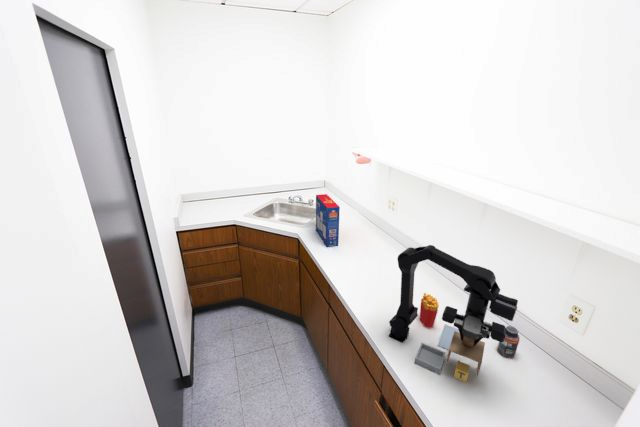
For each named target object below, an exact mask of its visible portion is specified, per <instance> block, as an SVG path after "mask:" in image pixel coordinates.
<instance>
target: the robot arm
mask: <svg viewBox="0 0 640 427" xmlns="http://www.w3.org/2000/svg"><path fill="white" fill-rule="evenodd" d="M424 261H431V262H432V263H434V264H436V265H438V266H439V267H441V268H443V269H445V270H447V271H449V272H451V273H453V274H455V275H456V276H459V277H460V278H461V279H462V280H463V281H464V282H465V283H466V285H465V286H464V287H463V291H465V292H468V293H469V296H468V300H467V304H466V307H465V308H466V309H465V313H464V315H462V314H459V313H458V309H457V308H454V307H452V306H448V305H446V306H445V307H444V310H443V313H442V315H441V316H442V317H441V320H442V321H443V322H446V323H448V324H453V327H454V328H456V329H458V330H459V333H460V337H461V340H463V336H464V335H465V336H469V337H471V338H473V339H475V342H474V346H475V345H476V344H477V343H478V342H479V341H482V339H490V338H491V339H492V340H493V341H497V342H498V343H499V342H504V339H505V334H506V327H507V326H506V325H504V324H501V323H498V322H495V321H492V323H489V322H487V321H485V318H486V313H487V310H488V309H489V310H490V313H491V314H493V315H496V316H498V317H501V318H503V319H505V320H508V321H509V322H513V321H514V318H515V315H516V312H517V309H518V303H519V302H518V301H519V300H518V299H516V298H512V297H510V296H506V295H503V294H501V292H500V291H501V288H500V285H498V283H497V280H496V275H495V273H494V272H493V271H492V270H491V269H489V268H485V267H484V266H483V267H482V266H479V265H475V264H474V265H473V264H469V263H467V262H464V261H462V260H461V259H458V258H457V257H454V256H452V255H450V254H449V253H446V252H444V251H442V250H441V249H439V248H436V246H434V245H433V244H432V245H431V244H428V245H426V246H418V247H407V248H406V249H405V250H404V251H402V252H401V253H400V254H398V255H397V263H398V264H397V265H398V269H399V270H400V272H401V276H400V277H401V279H400V280H401V282H400V300H399V301H400V302H399V306H398V308H397V311H396V314H394V316H393V317H391V319H389V321H388V323H389V326H390V332H389V334H388V337H389V338H391V339H393V340H395V341H398V342H401V343H403V344H404V343H405V342H406V340H407V339H408V338H409V334H410V327H409V326H410V325H412V323H413V322H414V321H415V320H416V319H417V317H418V316H419V314H418V311H419V310H418V309H419V308H418V307H416V306H415V304H414V288H415V286H414V285H415V284H414V283H415V272H416V270H417V268H418V265H419V263H420V262H424ZM488 306H489V307H488Z"/></svg>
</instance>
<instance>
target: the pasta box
mask: <svg viewBox="0 0 640 427" xmlns="http://www.w3.org/2000/svg"><path fill="white" fill-rule="evenodd" d="M339 230H340V206H339V205H338V204H337V203H336V201H334V200H333V199H332V198H331V197H330V196H329V194H327V193H325V194H315V232H316V233H317V235H318V234H319V235H318V236H319V237H321V238H320V239H321V240H322V242H323V244H324V245H325V248H333V247H339V240H340V239H339V238H340V237H339V233H340V231H339Z"/></svg>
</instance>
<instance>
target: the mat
mask: <svg viewBox="0 0 640 427" xmlns="http://www.w3.org/2000/svg"><path fill="white" fill-rule="evenodd" d="M454 331H456V332H458V333H459V330H458V328H457V327H455V326H451V325H449V324H448V325H447V323H446V324H445V323H444V326H443V329H442V332H441V335H440V338H439V341H438V344H437V347H440V348H443V349H444V350H448V351H449V348H450V344H451V341H452V338H453V334H454Z"/></svg>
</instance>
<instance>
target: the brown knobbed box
mask: <svg viewBox="0 0 640 427" xmlns="http://www.w3.org/2000/svg"><path fill="white" fill-rule="evenodd" d="M474 342H475V339H473V338H471V337H469V336H465V335H464V336H463V340H461V337H460V333H458V332H456V331H454V334H453V338H452V341H451V344H450V348H449V350H448V352H447V356H446V363H447V364H448V363H449V361H450V357H451V354H452V353H455V354H456V355H459V356H462V357H463V358H466V359H469V360H470V361H474V362H476V363H477V367H476V373H475V374H476V375H475V376H477V377H479V374H480V370H481V367H482V363H483V359H484V358H483V357H484V350H485V345H486V341H485V342H484V341H482V340H480V341H479V342H478V343H477V344H476V345H475V346H474Z"/></svg>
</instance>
